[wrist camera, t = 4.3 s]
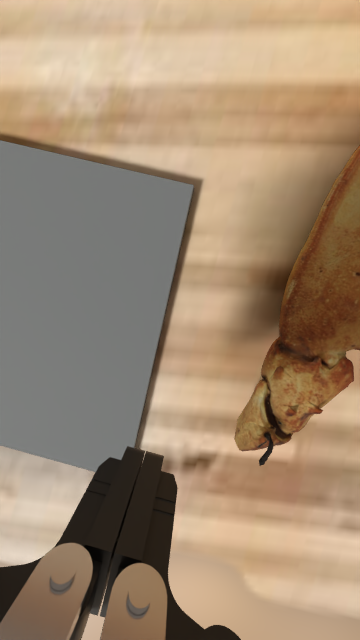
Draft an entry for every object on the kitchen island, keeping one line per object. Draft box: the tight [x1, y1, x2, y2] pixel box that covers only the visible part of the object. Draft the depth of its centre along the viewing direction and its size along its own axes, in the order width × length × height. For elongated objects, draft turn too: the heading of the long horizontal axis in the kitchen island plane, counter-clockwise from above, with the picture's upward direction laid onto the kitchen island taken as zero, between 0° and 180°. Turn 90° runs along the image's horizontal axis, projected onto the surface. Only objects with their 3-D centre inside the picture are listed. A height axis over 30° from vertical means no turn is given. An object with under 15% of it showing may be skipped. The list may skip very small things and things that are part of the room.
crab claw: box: [234, 146, 360, 465], centre depth 13 cm, size 7×5×20 cm
